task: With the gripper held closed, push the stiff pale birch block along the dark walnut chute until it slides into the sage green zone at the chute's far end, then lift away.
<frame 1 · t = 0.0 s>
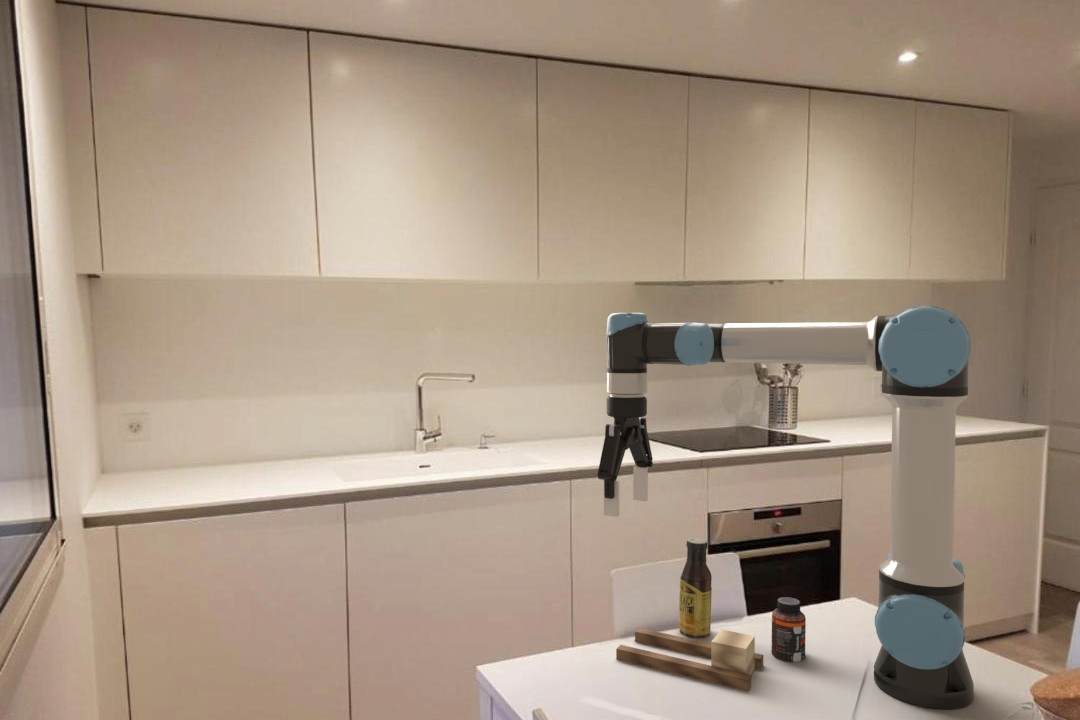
hand: (626, 507, 136), 28 cm above the table, tool pointing down, fingers open, 13 cm apart
jammed block: (733, 655, 127), point 4 cm above the table, slide at 0.0 cm
walnut chute: (689, 667, 132), on the table
sauce bottle: (695, 638, 145), on the table
supplement bottle: (788, 661, 134), on the table
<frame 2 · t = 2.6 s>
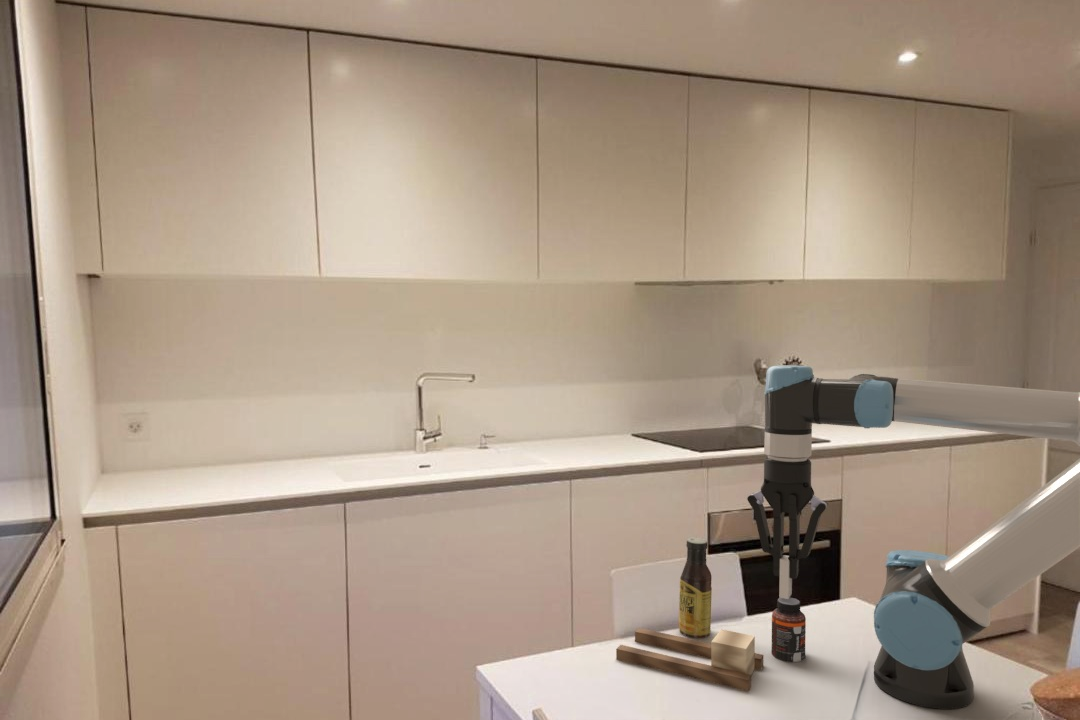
hand: (785, 595, 122), 16 cm above the table, tool pointing down, fingers closed
nothing on the table moved.
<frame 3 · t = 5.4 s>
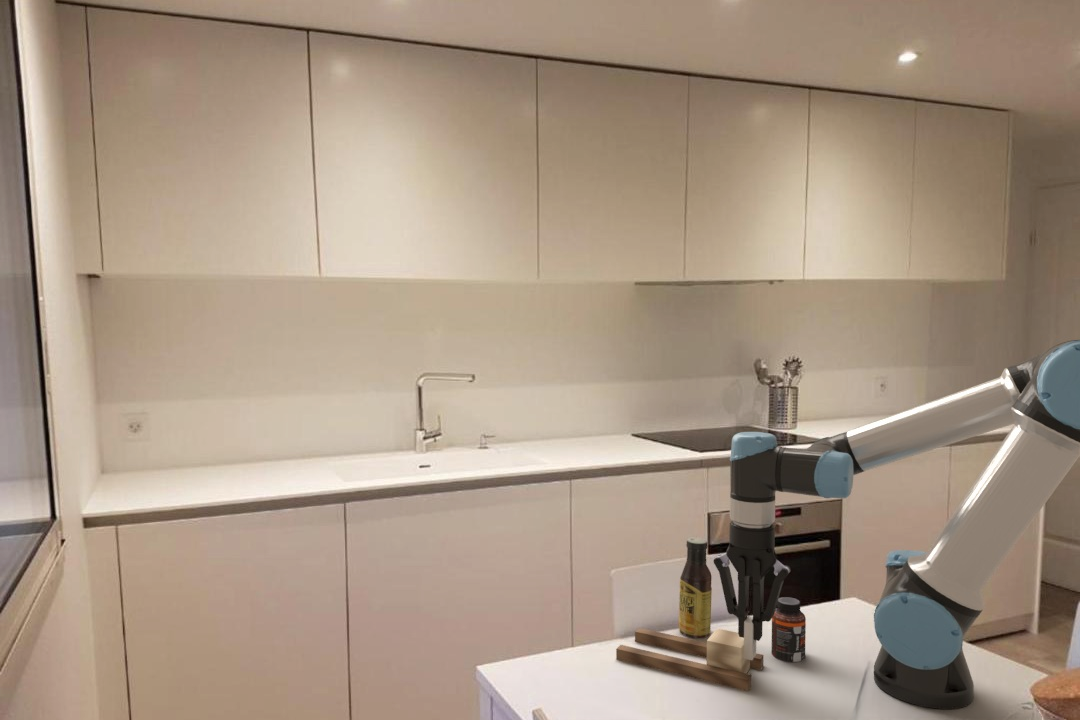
hand: (749, 656, 126), 5 cm above the table, tool pointing down, fingers closed
jammed block: (728, 654, 128), point 4 cm above the table, slide at 0.8 cm, touching gripper
everything else where it was.
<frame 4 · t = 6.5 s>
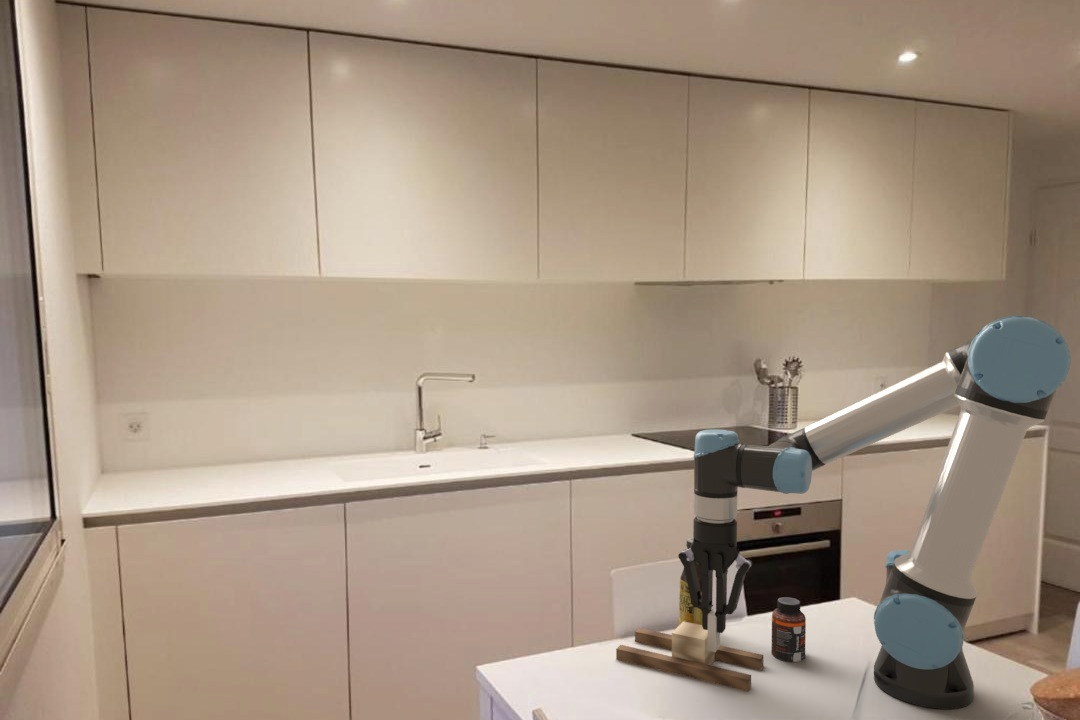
hand: (713, 648, 129), 5 cm above the table, tool pointing down, fingers closed
jammed block: (693, 646, 131), point 4 cm above the table, slide at 7.2 cm, touching gripper
everything else where it was.
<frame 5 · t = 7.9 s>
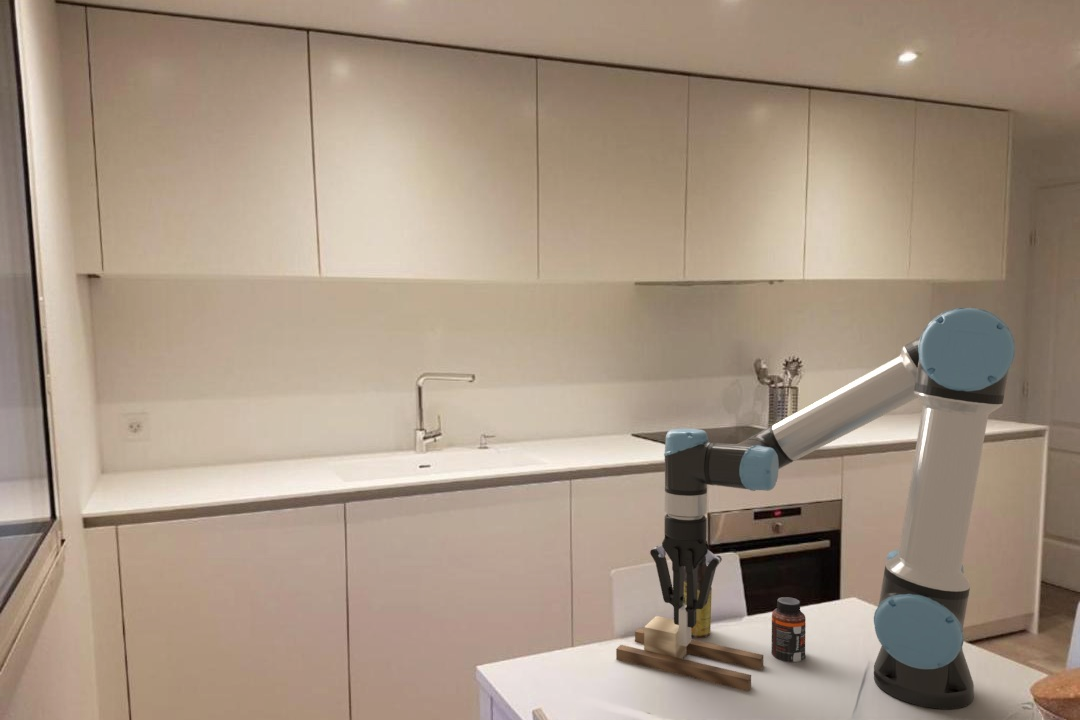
hand: (684, 642, 132), 4 cm above the table, tool pointing down, fingers closed
jammed block: (665, 640, 134), point 4 cm above the table, slide at 12.5 cm, touching gripper
everything else where it was.
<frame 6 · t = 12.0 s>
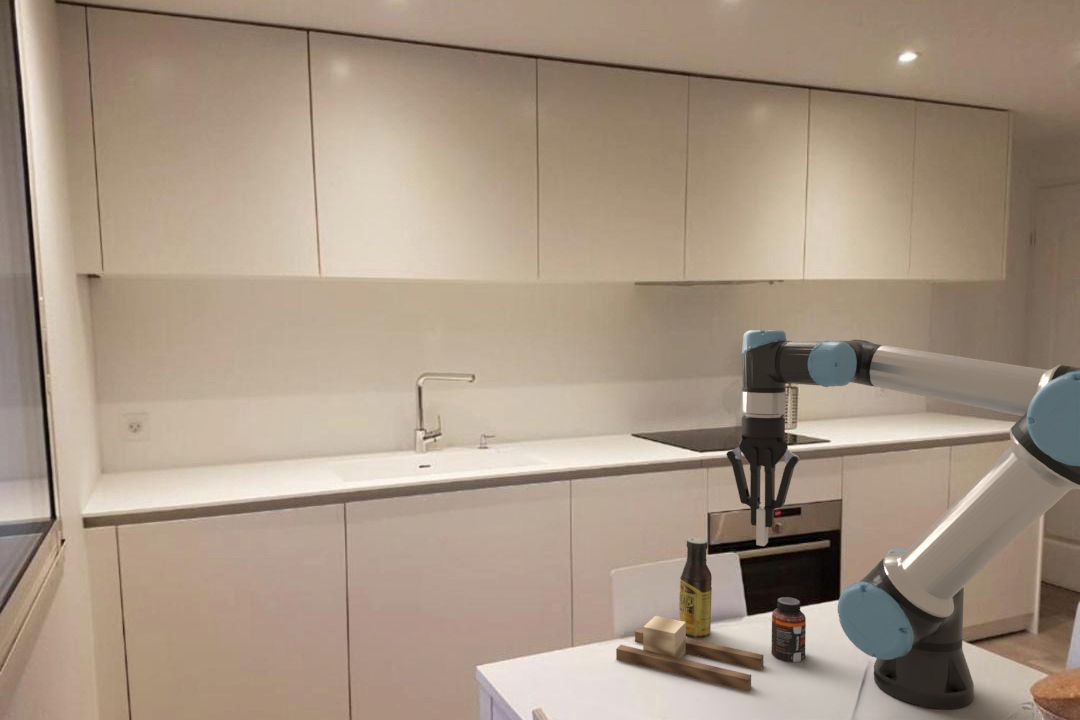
hand: (762, 543, 132), 22 cm above the table, tool pointing down, fingers closed
jammed block: (664, 640, 134), point 4 cm above the table, slide at 12.7 cm
everything else where it was.
at the end: jammed block slide at 12.7 cm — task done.
